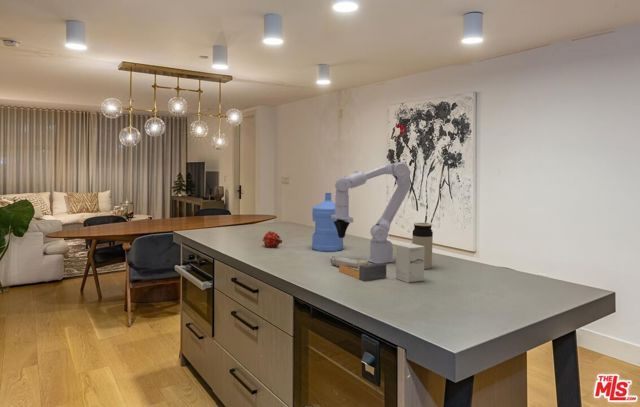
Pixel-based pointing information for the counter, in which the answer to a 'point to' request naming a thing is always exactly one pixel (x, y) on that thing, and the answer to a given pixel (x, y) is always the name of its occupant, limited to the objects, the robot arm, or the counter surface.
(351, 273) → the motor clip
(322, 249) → the water jug
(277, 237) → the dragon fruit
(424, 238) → the travel mug
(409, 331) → the counter surface
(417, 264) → the supplement box
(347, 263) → the electric toothbrush
